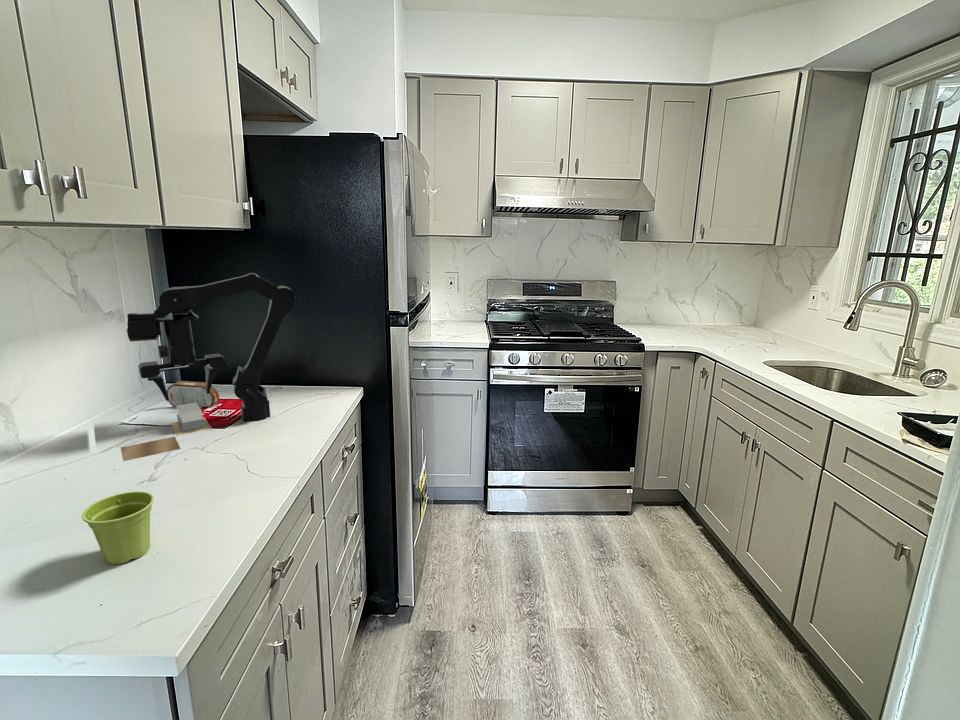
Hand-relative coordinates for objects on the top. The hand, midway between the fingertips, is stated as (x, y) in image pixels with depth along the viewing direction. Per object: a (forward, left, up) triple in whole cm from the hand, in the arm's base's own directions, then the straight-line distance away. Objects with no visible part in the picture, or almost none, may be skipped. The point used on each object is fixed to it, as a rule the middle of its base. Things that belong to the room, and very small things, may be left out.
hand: (187, 397), depth 128 cm
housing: (0, 0, -8) cm, 8 cm away
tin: (-3, -19, -10) cm, 21 cm away
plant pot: (+18, +51, -10) cm, 55 cm away
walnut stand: (+10, +10, -9) cm, 17 cm away
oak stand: (0, 0, -9) cm, 9 cm away
